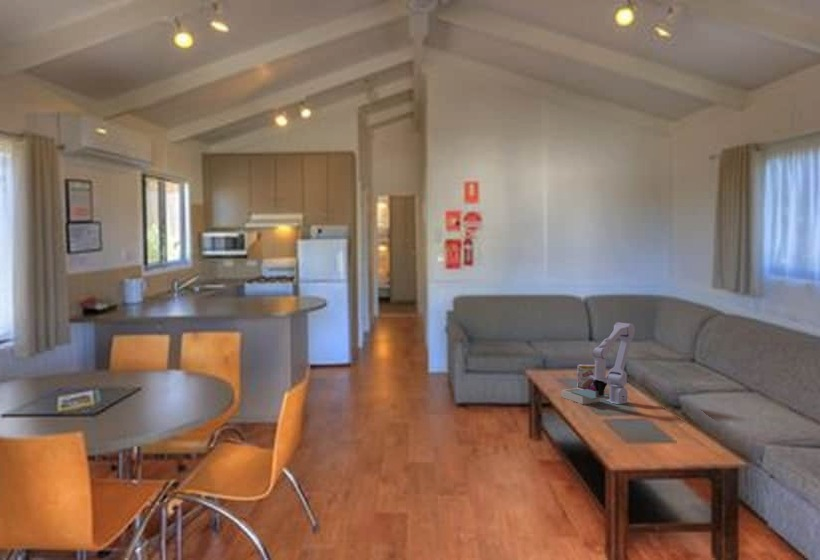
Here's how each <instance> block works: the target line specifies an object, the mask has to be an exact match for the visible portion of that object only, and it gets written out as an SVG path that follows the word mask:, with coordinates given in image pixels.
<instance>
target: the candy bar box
mask: <svg viewBox="0 0 820 560" xmlns="http://www.w3.org/2000/svg"><path fill="white" fill-rule="evenodd" d="M576 373H577V376H576V377H577V381H576V388H580V389H589V390H592V391H596V389H595V386H594V384H593V381H595V380H593V379H590V375H594V376H595V364H580V363H579V364H577V372H576Z"/></svg>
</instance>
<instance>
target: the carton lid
mask: <svg viewBox="0 0 820 560" xmlns="http://www.w3.org/2000/svg"><path fill="white" fill-rule="evenodd" d="M571 393H574V394H577V395H580V396H584V397H587V398H590V399H598V398H600V399H604V398H609V397H610V396H609V394H607V393H606V394H605V392H604V393H603V395H599V391H592V390H589V389H584V390H577V391H571Z"/></svg>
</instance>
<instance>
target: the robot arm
mask: <svg viewBox="0 0 820 560" xmlns="http://www.w3.org/2000/svg"><path fill="white" fill-rule="evenodd" d="M635 333H636V328H635V325H634V323H628V322H619V321H617V322H616V323H615V324H614V325H613V331H612V332H610V335H609V336H608V337H607V338H604V339H603V340H602V342H601V343H600V344H599V345H598V346H596V347H595V348H593V350H592V358H593V361H594V365H595V376H594V375H590V379H593V380H595V381H593V384H594V386H595V389H596V391H599V395H603V393H604V394H605V389H606V387H607V386H609V394H608V395H609V396H610V397H608V398H609V399H605V401H606V402H608V403H612V404H615V405H623V404H629V401H628V390H627V388H625V386H626V384H627V382H628V378H627V377H628V373H627V372H626V371H625V366H626V362H627V358H628V356H629V355H628V354H629V350H630V347H631V343H632V340H634V335H635ZM617 339H620V344H619V346H618V351H617V354H616V355H617V356H616V358H615V364H614V366H613V367H612V368H610V369H609V370H608V373H607V370H606V367H607V366H606V363H607V358H608V356H609V353H610V350H611V349H613V347H614V345H615V344H614V342H615V341H616V340H617Z"/></svg>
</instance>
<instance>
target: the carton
mask: <svg viewBox="0 0 820 560" xmlns="http://www.w3.org/2000/svg"><path fill="white" fill-rule="evenodd" d="M577 390H584V389H580V388H577V387H573V388H569V389H561V399H563V398H565V399H564V400H566V399H568V400H567V401H569V400H571V401H570V402H572V401H574V402H573V403H575V402H577V403H576V404H578V403H580V404H579V405H581V404H582V405H581V406H584V405H583V404H585V405H590V404H591V403H592V404H599V403H600V402H601V401H600V400H601V398H598V399H590V398H587V397H584V396H580V395H577V394H574V393H571V391H577ZM592 404H591V405H592Z"/></svg>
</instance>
